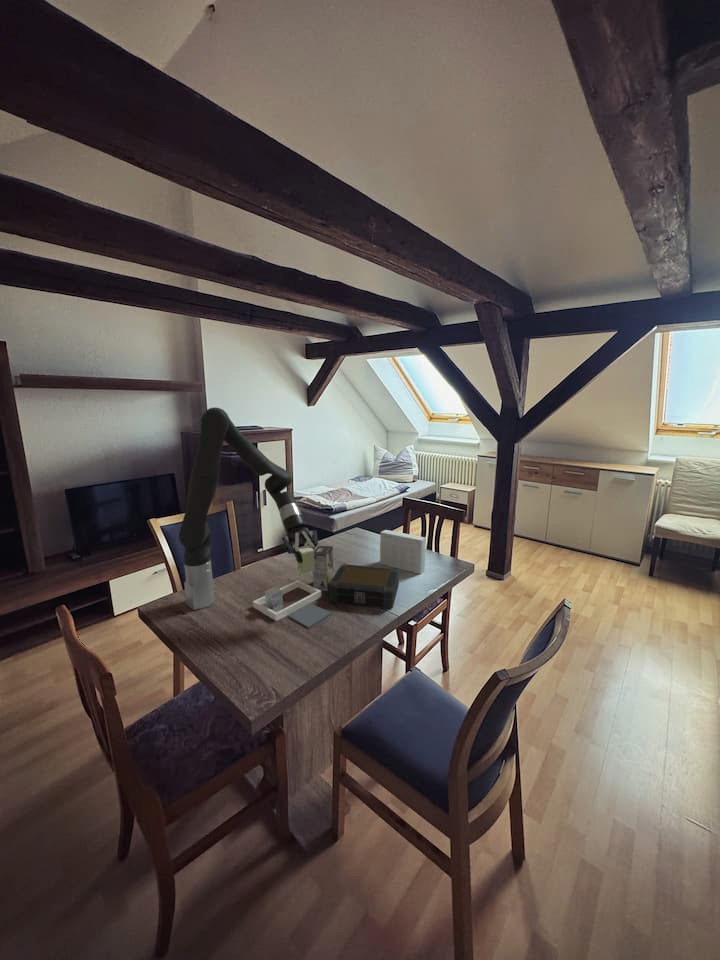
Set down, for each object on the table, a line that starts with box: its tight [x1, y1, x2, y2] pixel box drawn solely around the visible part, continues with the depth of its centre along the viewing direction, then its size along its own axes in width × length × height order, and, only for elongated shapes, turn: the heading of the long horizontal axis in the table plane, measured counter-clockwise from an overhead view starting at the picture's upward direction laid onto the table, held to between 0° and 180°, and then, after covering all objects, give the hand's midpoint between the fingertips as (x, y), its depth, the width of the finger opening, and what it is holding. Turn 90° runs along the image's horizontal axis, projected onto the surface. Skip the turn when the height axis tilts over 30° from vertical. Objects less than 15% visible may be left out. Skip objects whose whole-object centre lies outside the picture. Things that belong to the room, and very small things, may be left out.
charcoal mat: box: [287, 602, 332, 629], centre depth 137 cm, size 11×11×1 cm
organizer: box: [252, 579, 322, 622], centre depth 147 cm, size 22×14×2 cm, turn 139°
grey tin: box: [264, 586, 284, 613], centre depth 141 cm, size 4×4×8 cm
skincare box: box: [379, 529, 427, 575], centre depth 175 cm, size 21×5×16 cm, turn 58°
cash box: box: [328, 563, 400, 610], centre depth 152 cm, size 25×20×8 cm
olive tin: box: [296, 545, 315, 574], centre depth 133 cm, size 5×5×8 cm
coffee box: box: [312, 545, 334, 592], centre depth 158 cm, size 9×6×16 cm
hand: (308, 560), depth 132 cm, fingers closed on olive tin, 4 cm apart
